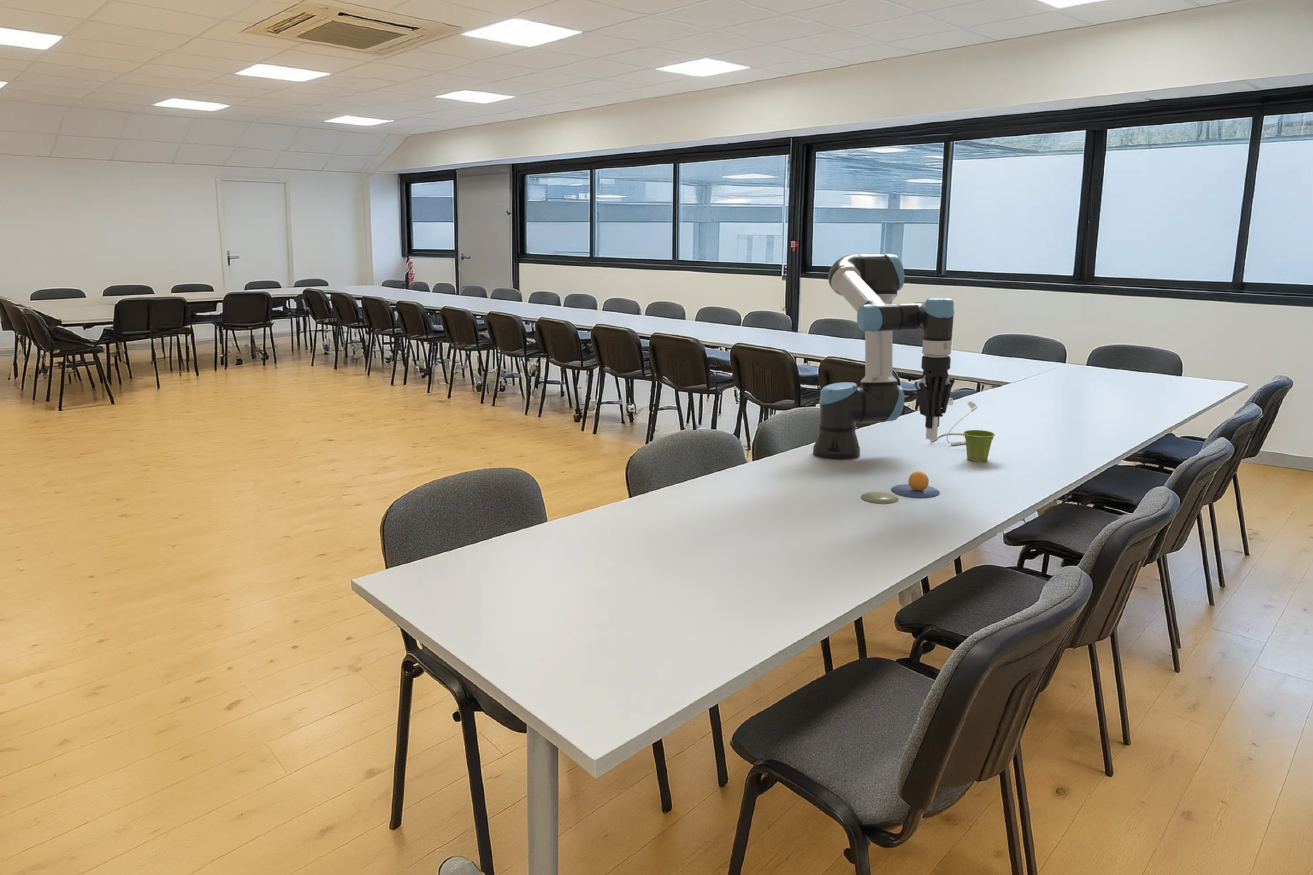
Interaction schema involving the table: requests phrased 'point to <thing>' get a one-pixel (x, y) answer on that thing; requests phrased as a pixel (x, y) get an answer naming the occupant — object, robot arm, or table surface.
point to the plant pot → (978, 444)
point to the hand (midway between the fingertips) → (931, 439)
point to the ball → (918, 481)
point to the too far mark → (879, 497)
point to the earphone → (950, 402)
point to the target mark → (909, 492)
